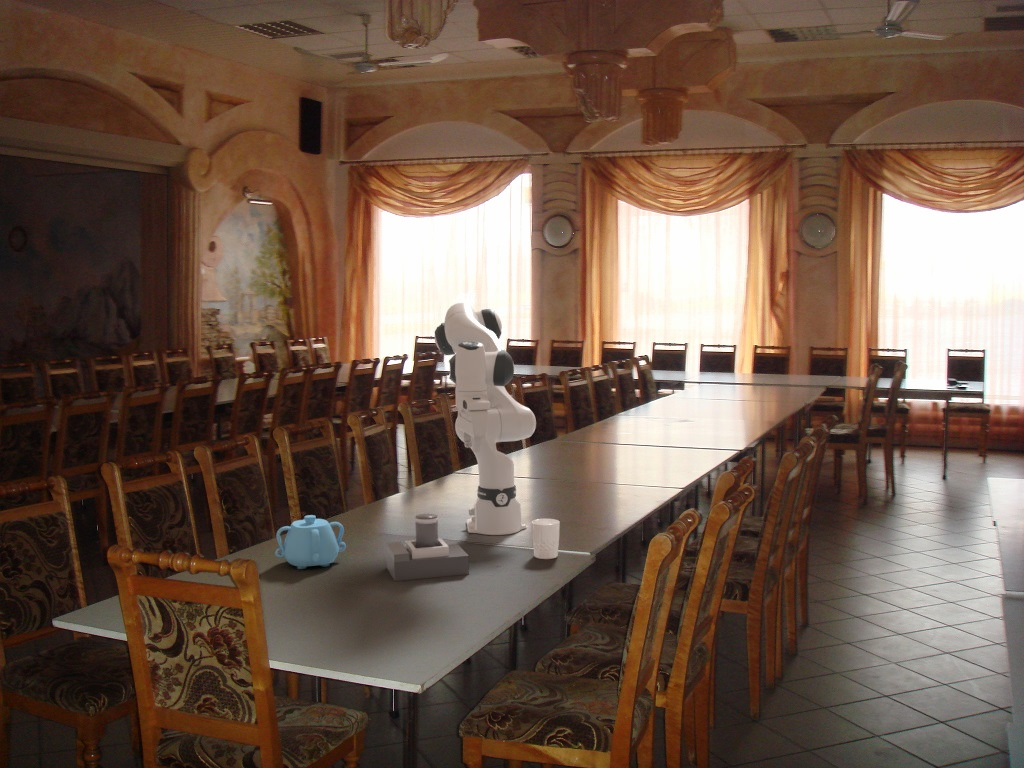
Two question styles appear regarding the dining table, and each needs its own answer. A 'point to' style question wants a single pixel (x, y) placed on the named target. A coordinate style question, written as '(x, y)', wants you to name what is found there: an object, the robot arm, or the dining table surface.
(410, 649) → the dining table surface
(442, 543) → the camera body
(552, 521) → the white cup
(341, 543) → the decorative pot
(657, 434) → the dining table surface
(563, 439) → the dining table surface
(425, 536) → the lens
